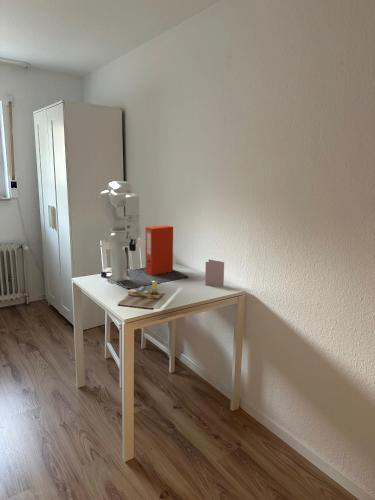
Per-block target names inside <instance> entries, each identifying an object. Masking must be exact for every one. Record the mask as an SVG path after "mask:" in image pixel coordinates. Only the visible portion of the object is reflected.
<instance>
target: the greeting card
mask: <svg viewBox="0 0 375 500" xmlns="http://www.w3.org/2000/svg"><path fill="white" fill-rule="evenodd" d="M204 270H205V273H204V274H205V275H204V276H205V278H204V286H224V283H225V282H224V280H225V262H224V261H220V260H213V259H208V261H205V269H204Z"/></svg>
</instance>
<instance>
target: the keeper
mask: <svg viewBox="0 0 375 500" xmlns="http://www.w3.org/2000/svg"><path fill="white" fill-rule="evenodd" d="M136 290H137V292H141V291H143V290H144V291H147V289H146V285H141V286H140V287H139V288H137V289H136Z"/></svg>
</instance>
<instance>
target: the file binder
mask: <svg viewBox="0 0 375 500" xmlns="http://www.w3.org/2000/svg"><path fill="white" fill-rule="evenodd" d="M173 261H174V226H171V225H167V224H166V225H157V226H156V225H155V226H154V225H153V226H145V273H146V274H148V275H149V276H156V275H163V274H167V272H168V273H172V272H171V271H174V269H173V268H174V267H173V266H174V262H173Z"/></svg>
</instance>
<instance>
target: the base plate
mask: <svg viewBox="0 0 375 500" xmlns="http://www.w3.org/2000/svg"><path fill="white" fill-rule="evenodd" d="M165 295H166V293H164V292H162V296H161V297H160V298H159V299H156V298H147V296H136V295H126V296H125V297H123V299H121V300H120V301H119V302H117V307H122V308H123V307H124V308H131V309H140V310H148V311H149V310H150V311H153V310H154V309H155V308H154V306H155V305H157V303H158V302H159V301H160V300H161V299H162V298H163V297H164V296H165Z"/></svg>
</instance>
